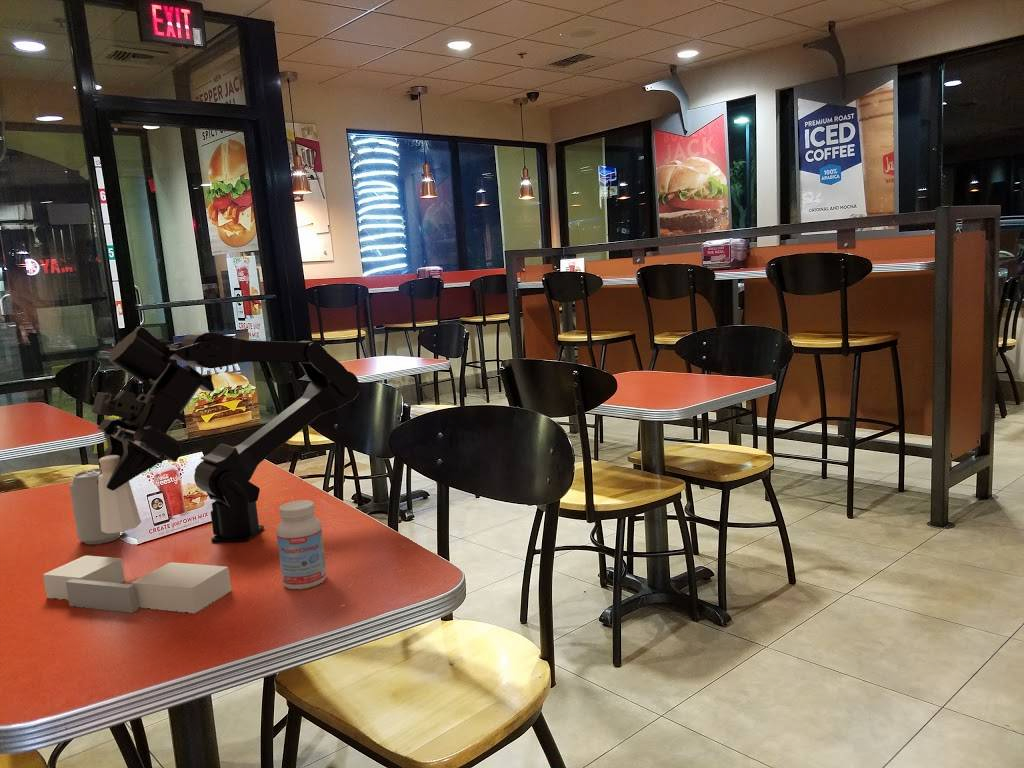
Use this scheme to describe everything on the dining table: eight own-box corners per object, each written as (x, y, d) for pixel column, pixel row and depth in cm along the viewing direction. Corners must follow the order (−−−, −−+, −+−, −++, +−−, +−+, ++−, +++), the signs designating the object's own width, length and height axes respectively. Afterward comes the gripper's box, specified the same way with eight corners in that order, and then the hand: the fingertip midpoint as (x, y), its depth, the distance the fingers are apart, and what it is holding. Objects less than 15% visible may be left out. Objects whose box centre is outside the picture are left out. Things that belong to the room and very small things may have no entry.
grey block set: (231, 590, 105) (228, 566, 104) (186, 618, 97) (183, 593, 96) (88, 577, 113) (85, 555, 113) (37, 602, 106) (33, 578, 105)
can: (91, 549, 126) (79, 479, 124) (71, 541, 131) (59, 474, 129) (135, 534, 132) (125, 468, 130) (115, 528, 137) (104, 463, 135)
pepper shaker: (101, 536, 111) (88, 464, 109) (100, 526, 115) (88, 457, 114) (142, 527, 113) (130, 456, 112) (139, 518, 118) (128, 450, 116)
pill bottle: (282, 594, 103) (272, 514, 101) (283, 577, 108) (274, 501, 107) (328, 586, 104) (319, 507, 102) (326, 570, 110) (318, 495, 108)
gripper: (101, 367, 120) (35, 451, 114) (146, 372, 107) (75, 468, 101) (159, 405, 127) (101, 487, 121) (209, 415, 114) (146, 507, 108)
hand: (104, 486), depth 112 cm, fingers closed on pepper shaker, 4 cm apart
